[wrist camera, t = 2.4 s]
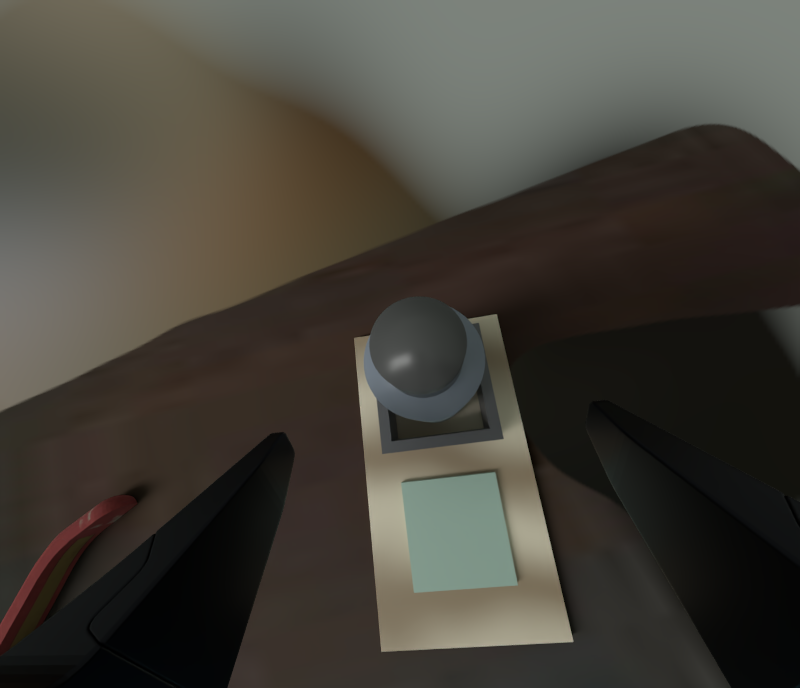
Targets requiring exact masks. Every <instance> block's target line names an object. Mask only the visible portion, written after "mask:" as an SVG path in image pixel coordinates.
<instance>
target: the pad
mask: <svg viewBox="0 0 800 688" xmlns="http://www.w3.org/2000/svg"><path fill="white" fill-rule="evenodd" d="M401 486H402V495H403V503H404V512H405V521H406V529H407V538H408V546H409V555H410V563H411V572H412V580H413V589H414V593H419V592H433V591H447V590H461V589H475V588H489V587H503V586H516V585H518V583H517V578H516V573H515V568H514V563H513V558H512V553H511V548H510V543H509V538H508V533H507V528H506V523H505V518H504V513H503V508H502V503H501V498H500V493H499V489H498V484H497V479H496V474H495V472H485V473H477V474H468V475H459V476H450V477H441V478H432V479H423V480H415V481H406V482H401Z"/></svg>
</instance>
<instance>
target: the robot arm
mask: <svg viewBox="0 0 800 688" xmlns="http://www.w3.org/2000/svg"><path fill="white" fill-rule="evenodd" d="M586 429H587V432H588V434H589V437H590V439H591V441H592V443H593V445H594V448H595V450H596V452H597V454H598V456H599V458H600V460H601V463H602V465H603V467H604V469H605V472H606V474H607V476H608V478H609V480H610V482H611V484H612V486H613V488H614V489H615V491H616V493H617V495H618V496H619V498H620V500H621V501H622V503H623V505H624V507H625V508H626V510H627V512H628V513H629V515H630V517H631V518H632V520H633V522H634V523H635V525H636V527H637V529H638V530H639V532H640V534H641V535H642V537H643V539H644V540H645V542H646V544H647V546H648V547H649V549H650V551H651V552H652V554H653V556H654V557H655V559H656V561H657V562H658V564H659V566H660V568H661V569H662V571H663V573H664V574H665V576H666V578H667V579H668V581H669V583H670V584H671V586H672V588H673V590H674V591H675V593H676V595H677V596H678V598H679V600H680V601H681V603H682V605H683V607H684V608H685V610H686V612H687V613H688V615H689V617H690V618H691V620H692V622H693V623H694V625H695V627H696V629H697V630H698V632H699V634H700V635H701V637H702V639H703V640H704V642H705V644H706V646H707V647H708V649H709V651H710V652H711V654H712V656H713V657H714V659H715V661H716V662H717V664H718V666H719V668H720V669H721V671H722V673H723V674H724V676H725V678H726V679H727V681H728V683H729V684H730V686H731V688H800V502H799V501H797V500H795V499H793V498H791V497H789V496H784V495H783V493H781V492H780V491H778V490H776V489H774V488H772V487H770V486H768V485H767V484H764V483H763V482H761V481H759V480H757V479H755V478H753V477H751V476H749V475H748V474H746V473H744V472H742V471H740V470H738V469H736V468H734V467H732V466H731V465H729V464H727V463H725V462H723V461H721V460H719V459H718V458H716V457H714V456H711V455H710V454H708V453H706V452H704V451H702V450H701V449H699V448H697V447H695V446H693V445H691V444H689V443H687V442H685V441H684V440H682V439H679V438H678V437H676V436H674V435H672V434H670V433H668V432H667V431H665V430H663V429H661V428H659V427H657V426H655V425H653V424H652V423H650V422H648V421H646V420H644V419H642V418H640V417H638V416H636V415H635V414H633V413H631V412H629V411H627V410H625V409H623V408H621V407H620V406H618V405H616V404H614V403H612V402H610V401H607V400H601V401H592V402H591V403H590V404H589V407H588V413H587V418H586ZM294 457H295V452H294V449H293V447H292V445H291V443H290V441H289V439H288V437H287V435H286V434H285V433H284V432H279V433H272V434H270V435H269V436H267V437H266V438H265V439H264V440H263V441H262V442H260V443H259V444H258V445H257V446H256V447H255V448H253V449H252V450H251V451H250V452H249V453H248V454H246V455H245V456H244V457H243V458H242V459H241V460H239V461H238V462H237V463H236V464H235V465H234V466H232V467H231V468H230V469H229V470H228V471H227V472H225V473H224V474H223V475H222V476H221V477H220V478H218V479H217V480H216V481H215V482H214V483H213V484H211V485H210V486H209V487H208V488H207V489H206V490H204V491H203V492H202V493H201V494H200V495H199V496H197V497H196V498H195V499H194V500H193V501H192V502H190V503H189V504H188V505H187V506H186V507H185V508H183V509H182V510H181V511H180V512H179V513H178V514H176V515H175V516H174V517H173V518H172V519H171V520H169V521H168V522H167V523H166V524H165V525H164V526H162V527H161V528H160V529H159V530H158V531H157V532H156V534H153V535H152V536H151V537H149V538H148V539H147V540H146V541H145V542H144V543H142V544H141V545H140V546H139V547H138V548H137V549H135V550H134V551H133V552H132V553H131V554H129V555H128V556H127V557H126V558H125V559H123V560H122V561H121V562H120V563H119V564H117V565H116V566H115V567H114V568H113V569H111V570H110V571H109V572H108V573H106V574H105V575H104V576H103V577H101V578H100V579H99V580H98V581H96V582H95V583H94V584H93V585H91V586H90V587H89V588H87V589H86V590H85V591H84V592H82V593H81V594H80V595H79V596H77V597H76V598H75V599H73V600H72V601H71V602H70V603H68V604H67V605H66V606H64V607H63V608H62V609H61V610H59V611H58V612H57V613H55V614H54V615H53V616H52V617H50V618H49V619H48V620H47V621H45V622H44V623H43V624H41V625H40V626H39V627H38V628H36V629H35V630H34V631H32V632H31V633H30V634H29V635H27V636H26V637H25V638H23V639H22V640H21V641H20V642H18V643H17V644H16V645H14V646H13V647H12V648H10V649H9V650H8V651H6V652H5V653H4V654H2V655H1V656H0V688H227V687H228V684H229V681H230V678H231V674H232V671H233V668H234V665H235V662H236V658H237V655H238V652H239V649H240V646H241V642H242V639H243V636H244V633H245V630H246V627H247V623H248V620H249V617H250V614H251V611H252V607H253V604H254V601H255V598H256V595H257V591H258V588H259V585H260V582H261V579H262V576H263V572H264V569H265V566H266V563H267V560H268V556H269V553H270V550H271V547H272V544H273V541H274V537H275V534H276V531H277V528H278V525H279V521H280V518H281V515H282V512H283V508H284V505H285V500H286V496H287V491H288V486H289V481H290V477H291V472H292V467H293V462H294Z"/></svg>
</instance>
